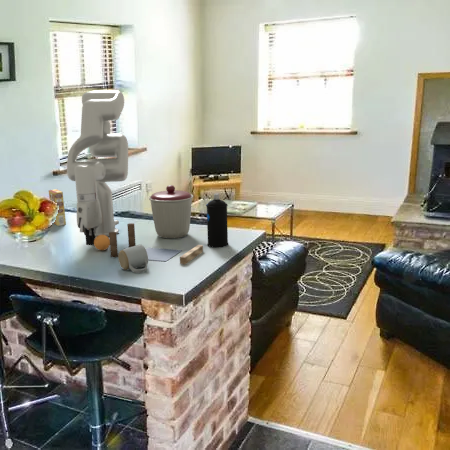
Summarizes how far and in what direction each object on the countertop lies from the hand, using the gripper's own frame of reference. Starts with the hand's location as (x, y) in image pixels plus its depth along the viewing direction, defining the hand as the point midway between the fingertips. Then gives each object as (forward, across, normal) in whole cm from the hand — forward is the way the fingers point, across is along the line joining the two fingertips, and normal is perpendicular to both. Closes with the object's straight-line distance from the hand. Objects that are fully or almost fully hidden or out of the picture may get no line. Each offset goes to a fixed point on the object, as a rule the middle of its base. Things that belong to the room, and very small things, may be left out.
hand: (90, 244), depth 214 cm
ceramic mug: (+2, -16, -29) cm, 33 cm away
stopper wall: (+2, +2, -42) cm, 42 cm away
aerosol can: (+2, +20, -44) cm, 49 cm away
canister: (+2, +27, -21) cm, 34 cm away
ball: (-1, 0, -5) cm, 5 cm away
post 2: (+2, +7, -14) cm, 16 cm away
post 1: (+2, -6, -14) cm, 15 cm away
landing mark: (+2, +1, -28) cm, 28 cm away
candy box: (+2, +30, +39) cm, 49 cm away
